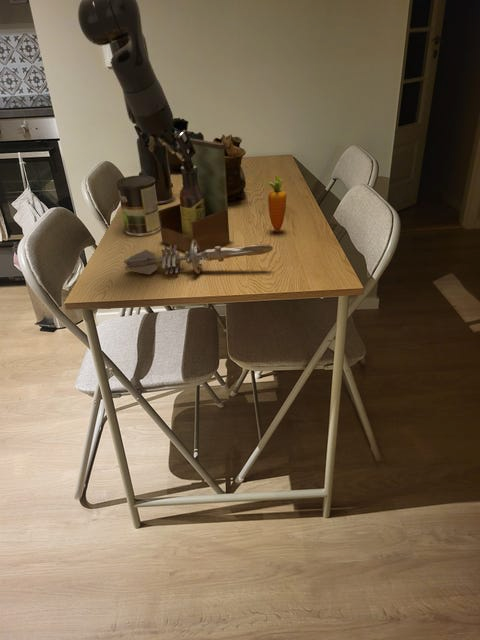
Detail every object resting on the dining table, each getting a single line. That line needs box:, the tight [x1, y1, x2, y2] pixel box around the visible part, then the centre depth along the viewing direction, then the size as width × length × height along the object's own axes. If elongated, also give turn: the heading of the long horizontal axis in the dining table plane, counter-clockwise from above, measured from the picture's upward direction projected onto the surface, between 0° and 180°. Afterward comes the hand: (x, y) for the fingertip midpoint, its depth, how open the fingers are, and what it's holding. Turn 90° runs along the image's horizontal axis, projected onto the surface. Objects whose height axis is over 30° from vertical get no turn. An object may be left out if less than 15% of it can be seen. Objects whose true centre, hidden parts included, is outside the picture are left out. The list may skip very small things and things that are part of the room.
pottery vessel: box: [212, 134, 247, 202], centre depth 153 cm, size 25×11×20 cm, turn 3°
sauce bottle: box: [179, 166, 205, 238], centre depth 121 cm, size 6×6×20 cm
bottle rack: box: [158, 138, 231, 253], centre depth 119 cm, size 14×12×25 cm
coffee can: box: [116, 174, 161, 237], centre depth 132 cm, size 10×10×14 cm
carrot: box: [267, 175, 287, 233], centre depth 126 cm, size 5×5×15 cm
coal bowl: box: [167, 117, 205, 170], centre depth 187 cm, size 20×20×19 cm
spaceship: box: [123, 239, 274, 276], centre depth 109 cm, size 8×35×8 cm
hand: (176, 166), depth 109 cm, fingers open, 8 cm apart
